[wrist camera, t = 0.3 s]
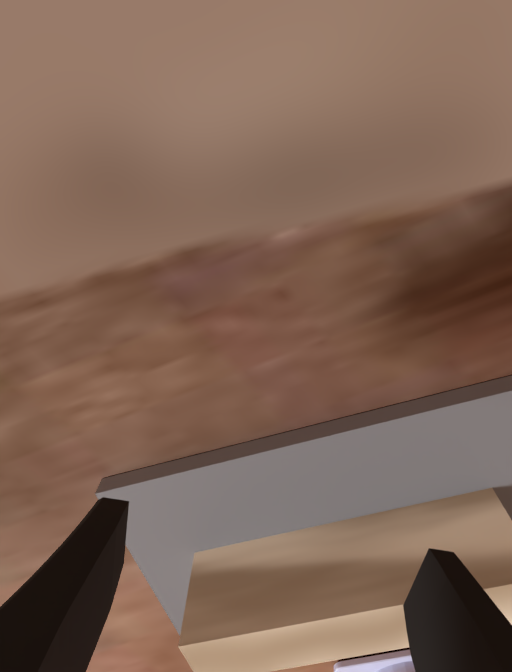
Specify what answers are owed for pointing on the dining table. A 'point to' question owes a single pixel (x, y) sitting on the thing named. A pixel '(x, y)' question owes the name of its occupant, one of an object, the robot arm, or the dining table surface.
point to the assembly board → (314, 479)
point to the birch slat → (335, 584)
